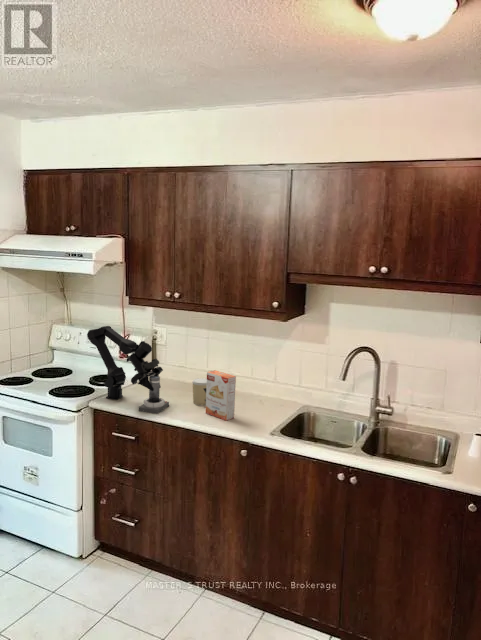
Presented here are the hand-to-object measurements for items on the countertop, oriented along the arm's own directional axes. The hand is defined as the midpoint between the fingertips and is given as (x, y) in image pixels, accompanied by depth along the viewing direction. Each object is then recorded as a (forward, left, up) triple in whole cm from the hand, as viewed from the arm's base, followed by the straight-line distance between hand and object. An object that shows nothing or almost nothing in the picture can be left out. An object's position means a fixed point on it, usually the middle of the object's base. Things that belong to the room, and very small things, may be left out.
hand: (156, 389), depth 252 cm
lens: (-1, 0, -7) cm, 7 cm away
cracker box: (+32, +3, -10) cm, 33 cm away
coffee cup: (+17, +17, -10) cm, 26 cm away
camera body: (-1, 0, -10) cm, 10 cm away
